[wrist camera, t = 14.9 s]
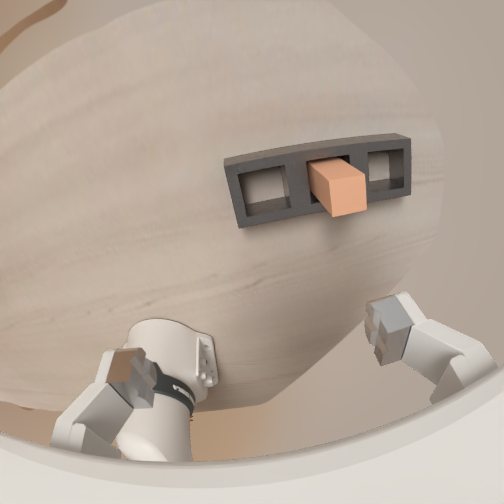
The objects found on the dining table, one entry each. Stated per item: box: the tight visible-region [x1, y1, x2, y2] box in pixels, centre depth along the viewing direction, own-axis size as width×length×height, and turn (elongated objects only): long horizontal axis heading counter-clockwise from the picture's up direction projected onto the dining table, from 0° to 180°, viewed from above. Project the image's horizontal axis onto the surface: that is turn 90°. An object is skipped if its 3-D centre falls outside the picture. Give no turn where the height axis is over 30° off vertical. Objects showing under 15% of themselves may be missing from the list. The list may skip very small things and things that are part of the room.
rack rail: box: [224, 133, 411, 228], centre depth 35 cm, size 8×24×4 cm, turn 101°
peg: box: [306, 156, 367, 217], centre depth 32 cm, size 4×4×10 cm
